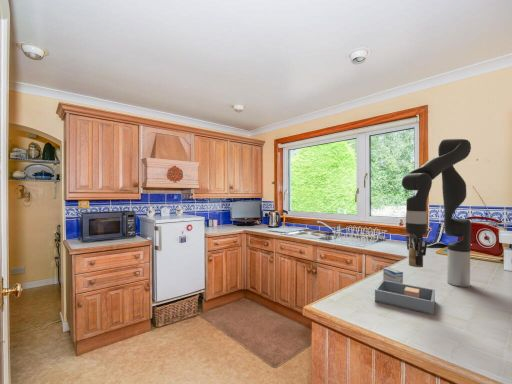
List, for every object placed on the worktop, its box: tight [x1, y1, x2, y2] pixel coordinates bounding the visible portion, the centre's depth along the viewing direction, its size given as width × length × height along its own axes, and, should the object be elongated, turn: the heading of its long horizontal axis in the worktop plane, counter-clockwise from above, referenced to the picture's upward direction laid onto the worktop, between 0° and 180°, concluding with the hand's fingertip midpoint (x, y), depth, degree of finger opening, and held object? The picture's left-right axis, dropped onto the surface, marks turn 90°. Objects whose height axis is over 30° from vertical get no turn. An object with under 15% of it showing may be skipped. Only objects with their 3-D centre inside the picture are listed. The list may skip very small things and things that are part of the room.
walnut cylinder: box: [408, 247, 424, 268], centre depth 108 cm, size 5×5×7 cm
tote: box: [374, 279, 436, 316], centre depth 112 cm, size 16×21×5 cm
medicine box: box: [382, 267, 404, 284], centre depth 128 cm, size 8×4×9 cm, turn 21°
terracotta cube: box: [404, 287, 420, 298], centre depth 110 cm, size 5×5×5 cm
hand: (415, 263), depth 108 cm, fingers closed on walnut cylinder, 5 cm apart
